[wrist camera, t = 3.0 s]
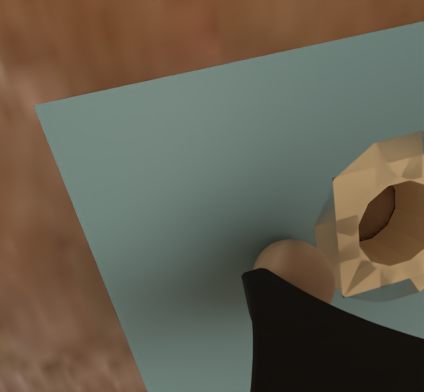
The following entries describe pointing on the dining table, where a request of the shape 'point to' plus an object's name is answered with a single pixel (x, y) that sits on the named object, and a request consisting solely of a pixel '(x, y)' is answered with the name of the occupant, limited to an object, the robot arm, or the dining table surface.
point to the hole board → (248, 193)
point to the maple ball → (300, 267)
